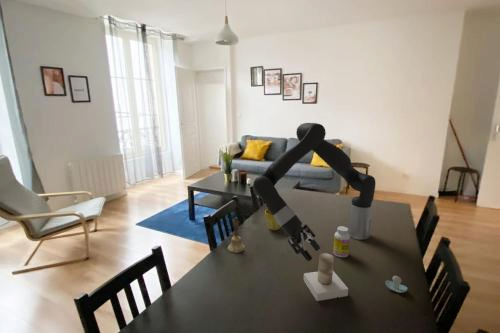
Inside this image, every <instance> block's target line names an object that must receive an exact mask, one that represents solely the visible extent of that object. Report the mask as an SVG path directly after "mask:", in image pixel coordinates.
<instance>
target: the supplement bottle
mask: <svg viewBox="0 0 500 333" xmlns="http://www.w3.org/2000/svg"><path fill="white" fill-rule="evenodd" d="M333 238H334V239H333V250H332V252H333V254H334V256H336V257H338V258H346V257H348V256H349V251H350V240H351V236H350V235H349V228H348V227H346V226H342V225H340V226H338V227H337V229H336V232H334V236H333Z"/></svg>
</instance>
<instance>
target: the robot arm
mask: <svg viewBox="0 0 500 333" xmlns="http://www.w3.org/2000/svg"><path fill="white" fill-rule="evenodd" d="M326 134H327V133H326V129H325V127H324V125H322V124H321V123H316V122H304V123H301V124H299V126H297V128H296V137H297V139H298V141H299V142H298V143H297V144H295V145H294V146H292V147H291V148H290V149H288V150H286V151H284V152H282V153H281V154H280V155H278V157H276V158H275V159H274V161H272V163H271V164H270V165H269V166H268V167H267V169H266V171H264V173H263V174H262V175H259V176H257V177H256V178H255V179H254V181H253V185H252V191H253V193H254V194H255V195H256V196H257V197H260V198H261V200H263V201H264V204H265V207H266V208H267V209H268V210H269V211H270V212H271V214H272V215H274V218H275V219H276V221H277V222H278V224H279V225H280V226H281V227H280V229H282V230H283V232H284V233H285V235H287V236H289V235H290V237H291V238H289V239H288V240H287V243H288V244H289V245H290V247H291V248H292V250H293V251H294V252H295V254H296V255H299V254H300V255H301V254H302V256H303V257H304V259H305V260H306V262H310V261H312V260H313V256H312V255H311V254H310V252H308V249H307V248H306V246H305V245H306V243H305V242H308V243H309V244H310V246H311V247H312V248H313V249H314V251H315V252H317V251H319V250H320V249H321V246H320V245H319V244H318V242H317V241H316V239H315V237H316V234H315V233H314V232H313V230H311V228H310V227H309V225H307V224H303V222H302V221H301V219H300V218H299V217H298V216H297V215H296V213H295V212H294V210H293V209H292V208H291V207H290V205H288V203H287V202H286V201H285V200H284V199H283V198H282V196H281V195H280V194H279V192H278V190H277V188H276V187H275V186H276V184H277V183H278V182H279V181H280V180H281V179H282V178H284V176H285V175H286V174H287V173H288V172H289V171H290V170H291V169H292V168H293V167H294V165H296V164H297V163H298V162H299V161H300V160H301V159H302V158H304V157H305V156H306V155H308V154H309V153H310V152H314V153H315V154H316V155H317V156H318V157H319V158H320V159H321V160H322V161H324V162H325V164H327V166H329V167H330V168H331V169H332V170H333V171H334V172H336V173H337V174H338V175H339V176H341V177H342V178H343V179H344V181H346V183H347V184H348V185H349V186H350V188H352V190H354V191H357V192H359V196H354V197H352V199H351V206H350V220H349V229H348V234H349V235H350V238H352V239H355V240H359V241H360V240H361V241H362V240H367V239H369V238H370V237H371V229H372V219H371V210H372V204H373V201H374V196H375V190H376V178H375V177H374V176H373V175H371V174H366V173H363V172H361V171H358V170H357V169H356V168H355V167H353V165H352V161H351V158H350V157H349V155H348V154H347V153H346V152H345V151H344V149H343V150H342V148H340V147H338V146H337V145H335V144H333V143H331V142H329V141H327V140H325V137H326ZM302 225H303V226H302Z"/></svg>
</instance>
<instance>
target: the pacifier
mask: <svg viewBox="0 0 500 333" xmlns="http://www.w3.org/2000/svg"><path fill="white" fill-rule="evenodd" d="M401 283H402V278H401V277H400V276H398V275H393V276H392V280H387V279H386V280H385V283H384V284H385V286H386V288H388V289H389V290H391V291H393V292H395V293H400V294H401V293H406V292H407V291H408V287H407V285H404V284H401Z"/></svg>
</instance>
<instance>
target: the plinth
mask: <svg viewBox="0 0 500 333" xmlns="http://www.w3.org/2000/svg"><path fill="white" fill-rule="evenodd" d="M303 281H304V283H305V284H306V286H307V288H308V289H309V291H310V293H311V295H312V296H313V298H314V299H315V301H316V302H320V301H325V300H331V299H337V297H338V298H343V297H348V296H349V288H348V287H347V285H346V284H345V283H344V281H342V279H341V278H340V277H339V275H337V274H336V272H335V271H334V270H333V275H332V283H331V284H330V285H322V284H320V283H319V282H318V271H313V272H304V273H303Z"/></svg>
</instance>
